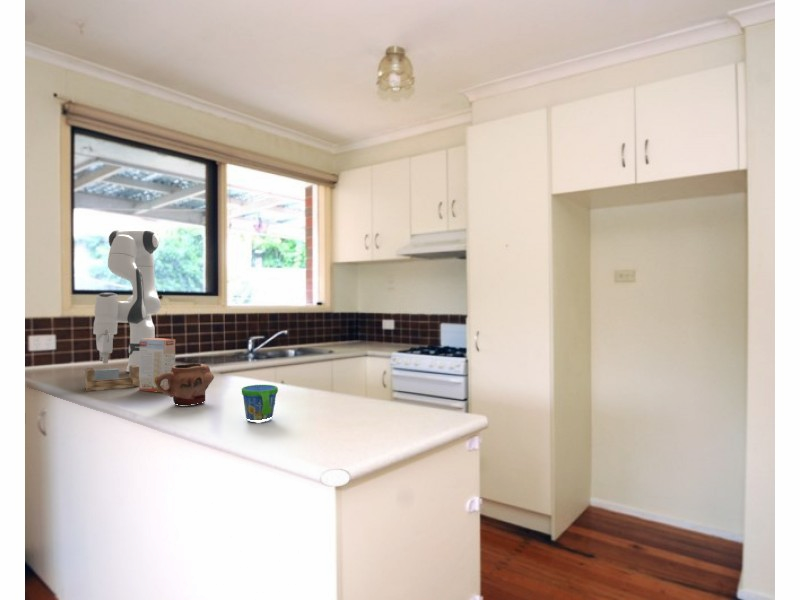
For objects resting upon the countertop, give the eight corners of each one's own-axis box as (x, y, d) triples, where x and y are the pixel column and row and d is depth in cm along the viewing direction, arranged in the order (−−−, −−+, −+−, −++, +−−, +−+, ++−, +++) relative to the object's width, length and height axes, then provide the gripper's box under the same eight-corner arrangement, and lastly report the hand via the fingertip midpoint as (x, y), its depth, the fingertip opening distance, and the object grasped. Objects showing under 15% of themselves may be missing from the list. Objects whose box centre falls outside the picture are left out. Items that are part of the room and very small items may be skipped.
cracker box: (175, 391, 193) (176, 338, 193) (162, 393, 187) (163, 339, 187) (151, 388, 199) (152, 337, 199) (138, 390, 193) (138, 338, 193)
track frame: (135, 383, 208) (135, 364, 208) (139, 386, 202) (139, 366, 202) (84, 388, 197) (85, 368, 197) (87, 391, 190) (87, 370, 190)
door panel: (117, 382, 213) (118, 368, 213) (118, 382, 211) (119, 369, 211) (91, 384, 207) (91, 370, 207) (91, 385, 205) (92, 370, 205)
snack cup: (281, 425, 142) (282, 390, 142) (244, 429, 138) (244, 393, 138) (272, 413, 156) (273, 382, 156) (238, 416, 152) (239, 384, 152)
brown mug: (167, 412, 156) (168, 369, 156) (147, 407, 163) (147, 366, 163) (221, 402, 173) (221, 363, 173) (200, 398, 179) (201, 360, 179)
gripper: (117, 331, 202) (115, 364, 202) (110, 329, 218) (108, 359, 218) (99, 331, 198) (98, 365, 198) (94, 328, 214) (92, 360, 214)
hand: (103, 362), depth 208 cm, fingers open, 8 cm apart
